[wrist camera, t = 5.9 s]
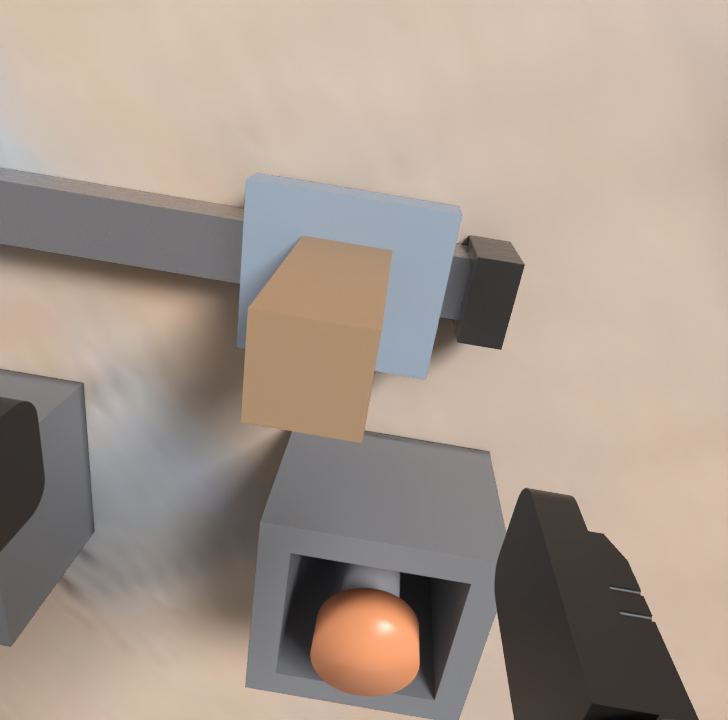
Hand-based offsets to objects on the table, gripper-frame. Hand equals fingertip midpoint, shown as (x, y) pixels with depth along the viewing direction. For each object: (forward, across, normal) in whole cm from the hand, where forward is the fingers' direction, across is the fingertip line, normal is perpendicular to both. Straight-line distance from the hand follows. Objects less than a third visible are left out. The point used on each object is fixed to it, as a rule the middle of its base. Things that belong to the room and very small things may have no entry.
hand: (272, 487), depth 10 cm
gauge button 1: (+14, -3, +13) cm, 19 cm away
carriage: (+15, 0, 0) cm, 15 cm away
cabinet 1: (+15, -3, +13) cm, 20 cm away
